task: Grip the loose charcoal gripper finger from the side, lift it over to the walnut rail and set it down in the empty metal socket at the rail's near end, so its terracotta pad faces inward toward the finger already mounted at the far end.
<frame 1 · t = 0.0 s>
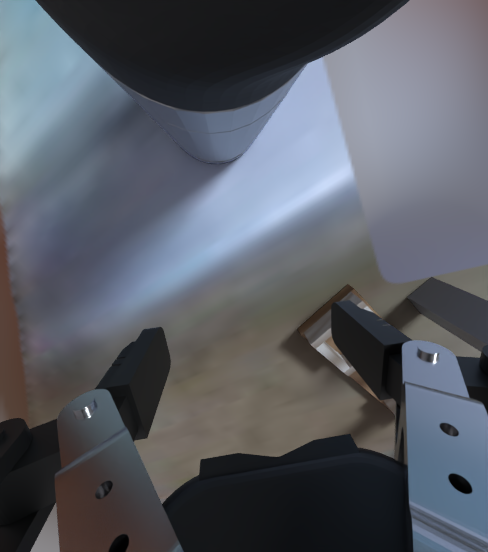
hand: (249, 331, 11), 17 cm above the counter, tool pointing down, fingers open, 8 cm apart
finger rail: (377, 359, 35), on the counter
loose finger: (426, 295, 32), on the counter
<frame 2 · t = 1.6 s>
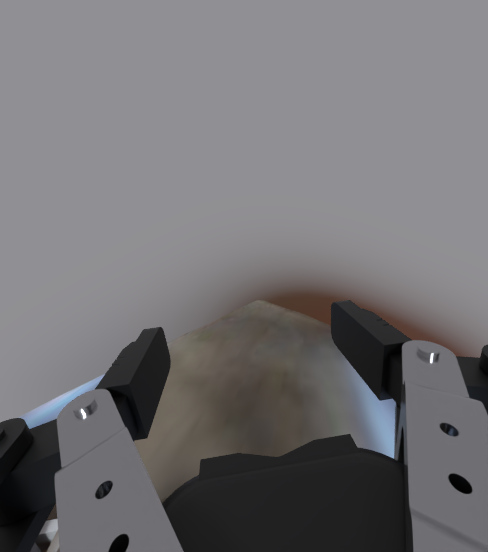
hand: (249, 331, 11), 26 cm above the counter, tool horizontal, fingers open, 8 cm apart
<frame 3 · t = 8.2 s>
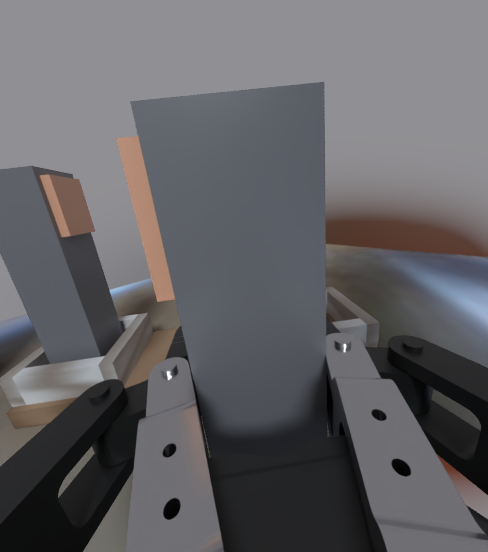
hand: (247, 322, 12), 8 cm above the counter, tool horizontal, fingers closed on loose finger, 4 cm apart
finger rail: (208, 360, 22), on the counter
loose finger: (271, 491, 11), on the counter, touching gripper
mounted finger: (96, 363, 21), resting on finger rail
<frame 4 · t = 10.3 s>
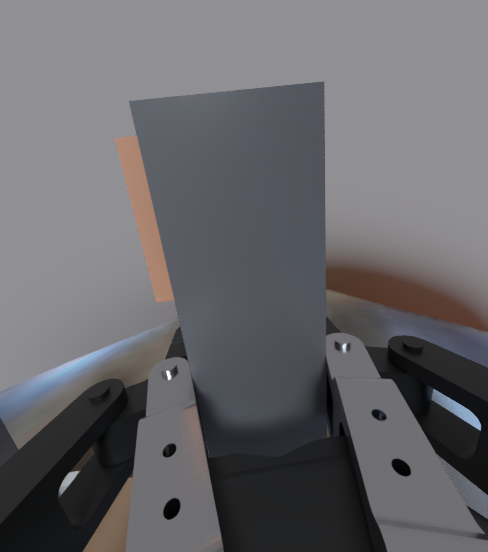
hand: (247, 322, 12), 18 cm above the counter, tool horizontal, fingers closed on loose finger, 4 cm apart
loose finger: (271, 491, 11), point 10 cm above the counter, touching gripper
when the fingers open (11 cm above the counter, at t = 12.7 s): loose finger drops 1 cm, resting on finger rail.
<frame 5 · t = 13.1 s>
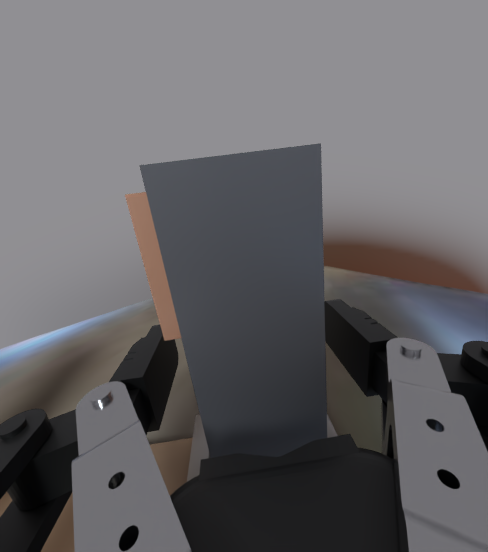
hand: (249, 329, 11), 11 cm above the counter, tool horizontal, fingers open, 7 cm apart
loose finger: (274, 506, 12), point 2 cm above the counter, touching finger rail
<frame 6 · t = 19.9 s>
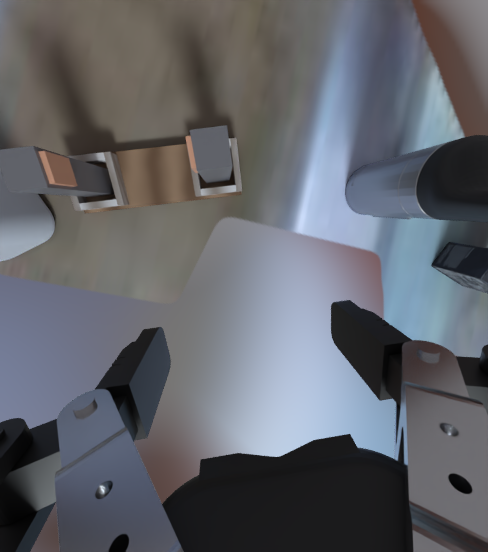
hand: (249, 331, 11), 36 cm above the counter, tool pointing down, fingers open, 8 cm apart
small box: (455, 263, 51), on the counter
finger rail: (160, 177, 41), on the counter
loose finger: (216, 170, 40), point 1 cm above the counter, touching finger rail
plastic bottle: (5, 210, 41), on the counter
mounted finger: (99, 183, 39), resting on finger rail
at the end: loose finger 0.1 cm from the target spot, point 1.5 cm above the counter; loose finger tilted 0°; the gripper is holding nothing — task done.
